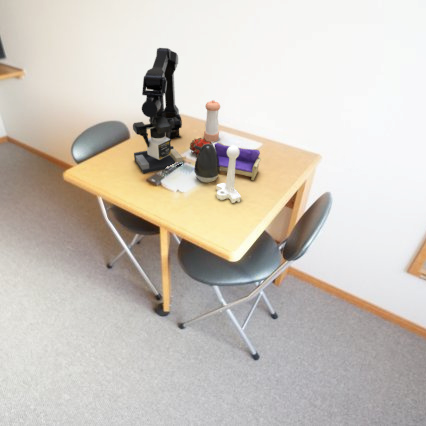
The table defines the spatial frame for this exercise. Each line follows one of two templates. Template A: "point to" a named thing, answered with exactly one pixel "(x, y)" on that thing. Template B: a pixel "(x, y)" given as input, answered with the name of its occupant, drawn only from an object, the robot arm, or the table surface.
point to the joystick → (229, 178)
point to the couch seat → (156, 161)
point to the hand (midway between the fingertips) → (158, 145)
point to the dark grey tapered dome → (207, 163)
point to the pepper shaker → (212, 121)
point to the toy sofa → (239, 160)
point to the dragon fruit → (198, 144)
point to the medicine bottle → (158, 145)
